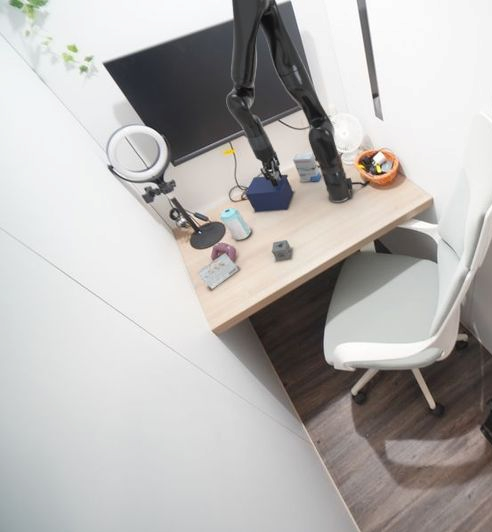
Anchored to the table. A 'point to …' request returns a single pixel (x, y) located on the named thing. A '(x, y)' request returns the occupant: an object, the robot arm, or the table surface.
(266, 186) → the lid
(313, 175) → the ink box
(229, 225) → the can
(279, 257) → the dice cube
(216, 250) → the video game controller
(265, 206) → the chest
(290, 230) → the table surface
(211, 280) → the ink box
